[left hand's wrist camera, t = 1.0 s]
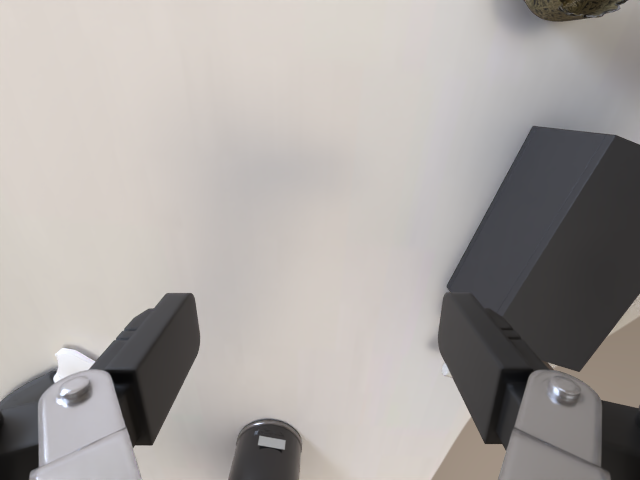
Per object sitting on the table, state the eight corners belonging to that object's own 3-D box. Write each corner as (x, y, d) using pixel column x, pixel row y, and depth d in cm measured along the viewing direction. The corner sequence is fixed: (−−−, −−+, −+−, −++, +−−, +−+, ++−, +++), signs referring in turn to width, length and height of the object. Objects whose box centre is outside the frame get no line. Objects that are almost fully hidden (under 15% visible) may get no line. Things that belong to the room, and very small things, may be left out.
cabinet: (520, 310, 44) (579, 372, 34) (446, 286, 43) (485, 343, 32) (617, 158, 37) (727, 180, 27) (532, 125, 36) (615, 134, 26)
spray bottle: (-24, 436, 51) (55, 328, 45) (46, 471, 54) (131, 373, 48) (-44, 455, 48) (38, 342, 42) (31, 491, 51) (119, 390, 45)
